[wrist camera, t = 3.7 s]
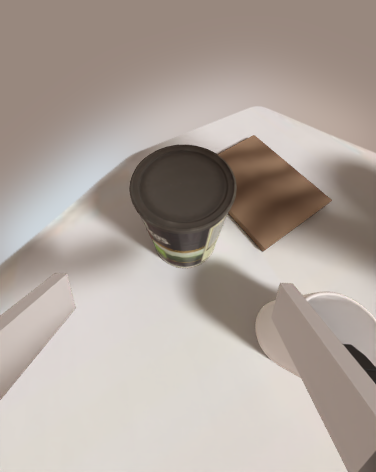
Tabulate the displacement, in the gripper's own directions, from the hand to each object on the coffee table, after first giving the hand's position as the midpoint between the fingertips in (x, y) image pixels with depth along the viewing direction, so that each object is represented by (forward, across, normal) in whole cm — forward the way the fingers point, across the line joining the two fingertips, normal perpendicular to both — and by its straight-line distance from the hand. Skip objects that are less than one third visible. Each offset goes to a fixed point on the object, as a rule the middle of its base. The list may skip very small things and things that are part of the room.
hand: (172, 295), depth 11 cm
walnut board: (+26, +13, +4) cm, 30 cm away
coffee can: (+19, 0, -4) cm, 19 cm away
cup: (+10, +16, -13) cm, 23 cm away
